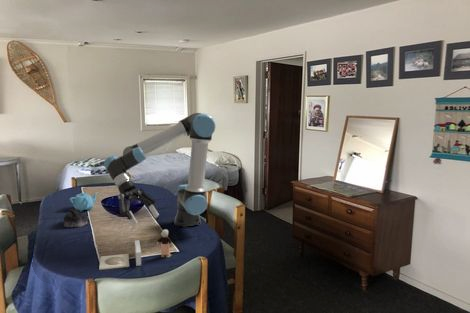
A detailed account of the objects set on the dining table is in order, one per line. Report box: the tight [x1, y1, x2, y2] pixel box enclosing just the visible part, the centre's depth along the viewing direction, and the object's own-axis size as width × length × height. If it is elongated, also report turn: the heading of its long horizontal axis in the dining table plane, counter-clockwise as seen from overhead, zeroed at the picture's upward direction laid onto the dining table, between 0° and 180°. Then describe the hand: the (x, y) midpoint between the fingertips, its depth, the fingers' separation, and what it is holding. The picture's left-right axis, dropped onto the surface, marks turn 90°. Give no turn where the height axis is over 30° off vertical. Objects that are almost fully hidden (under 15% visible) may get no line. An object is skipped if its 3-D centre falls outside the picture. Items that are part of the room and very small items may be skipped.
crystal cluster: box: [63, 209, 88, 228], centre depth 200 cm, size 13×14×10 cm
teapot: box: [69, 191, 99, 213], centre depth 226 cm, size 13×14×11 cm
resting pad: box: [98, 253, 130, 271], centre depth 156 cm, size 12×12×1 cm
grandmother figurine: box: [156, 229, 174, 258], centre depth 162 cm, size 8×4×13 cm, turn 92°
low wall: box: [134, 239, 142, 267], centre depth 159 cm, size 2×14×6 cm, turn 18°
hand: (146, 220), depth 166 cm, fingers open, 13 cm apart
